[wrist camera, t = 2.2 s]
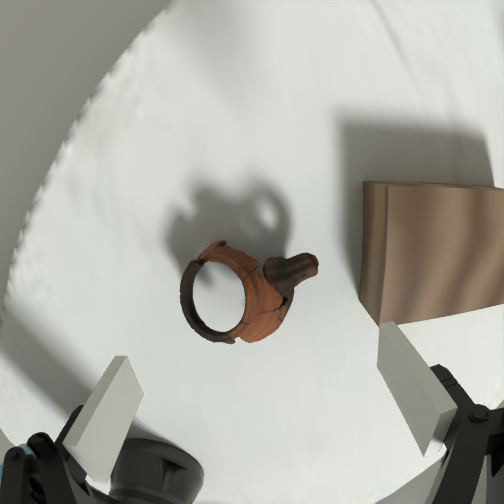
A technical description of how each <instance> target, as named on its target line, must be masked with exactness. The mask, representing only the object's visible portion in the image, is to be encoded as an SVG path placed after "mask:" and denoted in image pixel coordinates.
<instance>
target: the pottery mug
mask: <svg viewBox="0 0 504 504" xmlns="http://www.w3.org/2000/svg"><path fill="white" fill-rule="evenodd" d="M225 244H226V241H223V240H222V241H219V242H217V243H215V244H213V245H211V246H209V247H208V248H207V249H206V250H204V252H203V253H201V254H200V255H199V257H198V258H197V260H193V261H191V262H190V263H189V265H188V266H187V268H186V269H185V272H184V274H183V276H182V279H181V283H180V293H181V294H180V303H181V306H182V310H183V313H184V316H185V318H186V320H187V322H188V323H189V325H190V326H191V328H192V329H194V330H195V332H197V333H198V334H199V335H201V336H202V337H203V338H205V339H207V340H209V341H212V342H224V343H227V344H234V343H235V340H234V339H235V338H237V337H240V338H241V339H242V340H244V341H246V342H248V343H252V342H255V341H259V340H262V339H264V338H265V337H267V336H268V335H270V334H272V333H273V332H275V331H276V330H277V329H278V328H279V326H280V325H281V323H282V322H283V320H284V318H285V316H286V314H287V312H288V310H289V308H290V306H291V304H292V300H293V296H294V287H295V286H297V285H298V284H299V283H301V282H302V281H304V280H306V279H308V278H310V277H313V276H315V275H316V274H317V273H318V265H319V263H318V260H317V258H316V256H315V255H312V254H309V253H301V254H298V255H296V256H293V257H291V258H288V259H285V258H283V257H278V258H276V257H273V258H272V257H270V258H268V259H267V261H266V263H265V264H264V266H263V273H264V275H262V274H260V273H258V272H257V271H256V268H257V266H258V264H259V263H258V262H257V261H256V260H255V259H253V258H251V257H250V256H248V255H246V254H245V253H243V252H241V251H238V250H235V249H232V248H230V247H223V246H224V245H225ZM207 261H211V262H219V263H223V264H225V265H227V266H228V267H230V268H231V269H232V270H233V271H234V272H235V273H236V274H237V276H238V277H239V278H240V279H241V281H242V284H243V287H244V291H245V298H246V299H245V301H246V303H245V310H244V314H243V317H242V319H241V321H240V322H239V323H238V325H237V326H236V327H234V328H233V329H231V330H229V331H227V332H219V331H215V330H213V329H211V328H209V327H208V326H206V325H205V323H204V322H203V321H202V320H201V318H200V317H199V315H198V313H197V311H196V308H195V305H194V301H193V283H194V279H195V276H196V274H197V273H198V271H199V270H200V268H201V267H202V266H203V265H204V263H205V262H207ZM284 296H285V297H284ZM283 297H284V300H283Z"/></svg>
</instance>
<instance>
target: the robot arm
mask: <svg viewBox="0 0 504 504" xmlns="http://www.w3.org/2000/svg"><path fill="white" fill-rule="evenodd" d="M377 367H378V369H379V371H380V373H381V375H382V376H383V378H384V380H385V382H386V384H387V386H388V388H389V389H390V391H391V393H392V395H393V397H394V399H395V401H396V403H397V405H398V407H399V409H400V410H401V412H402V414H403V416H404V418H405V420H406V422H407V424H408V426H409V428H410V430H411V432H412V434H413V436H414V438H415V440H416V442H417V444H418V446H419V448H420V450H421V452H422V455H423V457H425V456H428V455H430V454H433V453H435V452H438V451H440V449H441V447H442V445H443V442H444V444H445V446H446V448H447V450H446V452H445V454H444V456H443V458H442V460H441V462H442V463H441V466H440V469H439V471H438V474H437V476H436V479H435V481H434V484H433V486H432V488H431V491H430V493H429V495H428V497H427V500H426V502H425V504H471V503H472V500H473V497H474V493H475V490H476V487H477V484H478V480H479V476H480V473H481V469H482V465H483V461H484V457H485V456H487V494H486V504H504V408H499V409H494V410H489V408H487V407H486V406H484V405H481V404H475V403H474V402H473V401H472V400H471V398H470V397H469V396H468V394H467V393H466V392H465V391H464V389H463V388H462V387H461V385H460V384H458V382H457V380H456V379H455V378H454V377H453V375H452V374H451V373H450V371H449V370H448V369H446V368H445V367H443V366H441V365H440V364H438V365H435V366H432V367H429V366H428V365H427V364H426V362H425V361H424V360H423V358H422V357H421V356H420V354H419V353H418V352H417V350H416V349H415V348H414V347H413V345H412V344H411V343H410V341H409V340H408V339H407V338H406V336H405V335H404V334H403V332H402V331H401V330H400V329H399V327H398V326H397V325H396V324H395V322H394V321H390V322H385V323H381V324H380V326H379V345H378V360H377ZM142 396H143V391H142V389H141V387H140V385H139V383H138V380H137V378H136V376H135V374H134V371H133V369H132V367H131V364H130V362H129V360H128V357H127V356H115V357H114V359H113V360H112V362H111V363H110V365H109V366H108V368H107V369H106V371H105V373H104V374H103V376H102V377H101V379H100V381H99V382H98V384H97V385H96V387H95V389H94V390H93V392H92V394H91V395H90V397H89V398H88V400H87V402H86V403H85V405H80V406H79V407H78V408H77V409H75V410H74V411H73V413H72V414H71V416H70V418H69V420H68V421H67V423H66V426H64V427H63V429H62V431H61V432H60V434H59V436H58V438H57V439H56V441H55V443H54V442H53V441H52V439H51V438H50V437H49V435H48V434H46V433H44V432H39V433H36V434H34V435H32V436H31V437H30V438H29V439H28V441H27V444H21V445H19V446H18V447H13V448H11V449H9V450H8V451H7V453H6V455H5V458H4V462H3V463H2V464H1V465H0V504H192V503H193V501H194V500H195V498H196V496H197V495H198V493H199V492H200V490H201V488H202V485H203V478H204V471H203V469H202V467H201V465H200V464H199V463H198V462H197V461H196V460H195V459H193V458H192V457H191V456H189V455H188V454H186V453H184V452H182V451H180V450H178V449H176V448H174V447H171V446H169V445H166V444H163V443H159V442H155V441H151V440H144V439H127V440H125V437H126V435H127V432H128V430H129V427H130V425H131V423H132V420H133V418H134V415H135V413H136V411H137V408H138V406H139V403H140V401H141V399H142ZM87 474H88V475H89V477H90V478H91V479H92V480H93V481H96V482H101V483H105V484H107V483H108V480H109V478H110V484H111V489H110V492H109V495H106V494H105V493H103V492H101V491H99V490H98V489H96V488H94V487H93V486H91V485H89V484H88V482H87V481H86V480H85V478H86V475H87Z"/></svg>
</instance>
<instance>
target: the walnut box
mask: <svg viewBox="0 0 504 504" xmlns="http://www.w3.org/2000/svg"><path fill="white" fill-rule="evenodd" d="M359 301H360V302H361V304H362V305H363V307H364V308H365V309H366V311H367V312H368V313H369V315H370V316H371V317H372V319H373V320H374V322H375V323H376V324H377V326H378V327H379V326H380V324H381V323H385V322H390V321H394V322H395V324H396V325H399V324H405V323H411V322H417V321H423V320H429V319H434V318H440V317H445V316H450V315H455V314H460V313H465V312H469V311H474V310H478V309H483V308H487V307H491V306H496V305H500V304H504V189H502V188H497V187H488V186H475V185H460V184H442V183H419V182H363V246H362V268H361V284H360V297H359Z"/></svg>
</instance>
